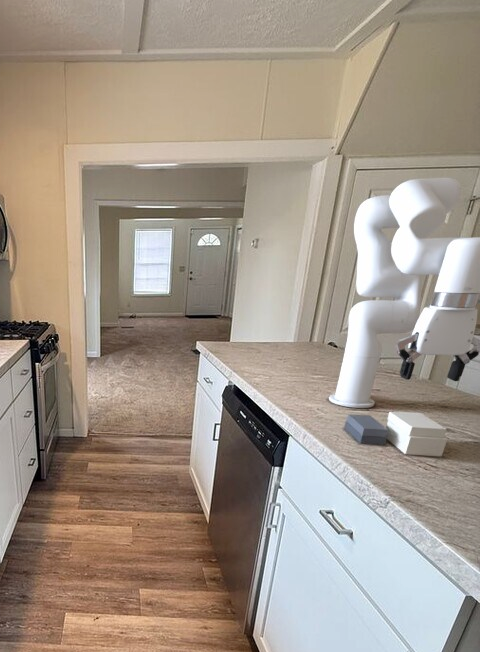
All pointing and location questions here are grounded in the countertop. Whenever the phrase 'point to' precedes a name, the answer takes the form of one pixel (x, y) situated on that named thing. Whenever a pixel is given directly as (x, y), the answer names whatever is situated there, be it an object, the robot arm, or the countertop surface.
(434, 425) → the white book
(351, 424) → the grey books
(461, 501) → the countertop surface
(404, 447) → the white books
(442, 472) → the countertop surface
